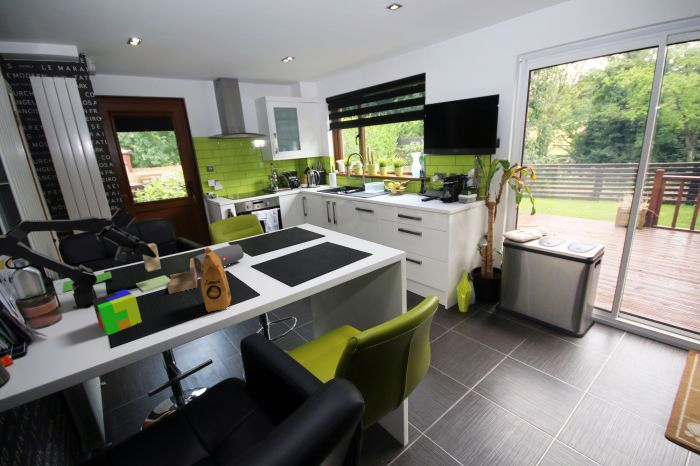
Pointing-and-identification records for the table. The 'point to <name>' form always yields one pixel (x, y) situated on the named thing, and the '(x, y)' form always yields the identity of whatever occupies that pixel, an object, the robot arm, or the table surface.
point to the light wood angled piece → (183, 280)
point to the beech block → (152, 259)
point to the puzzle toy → (117, 311)
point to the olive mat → (153, 283)
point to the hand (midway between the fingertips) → (154, 255)
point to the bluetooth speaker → (222, 256)
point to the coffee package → (214, 283)
